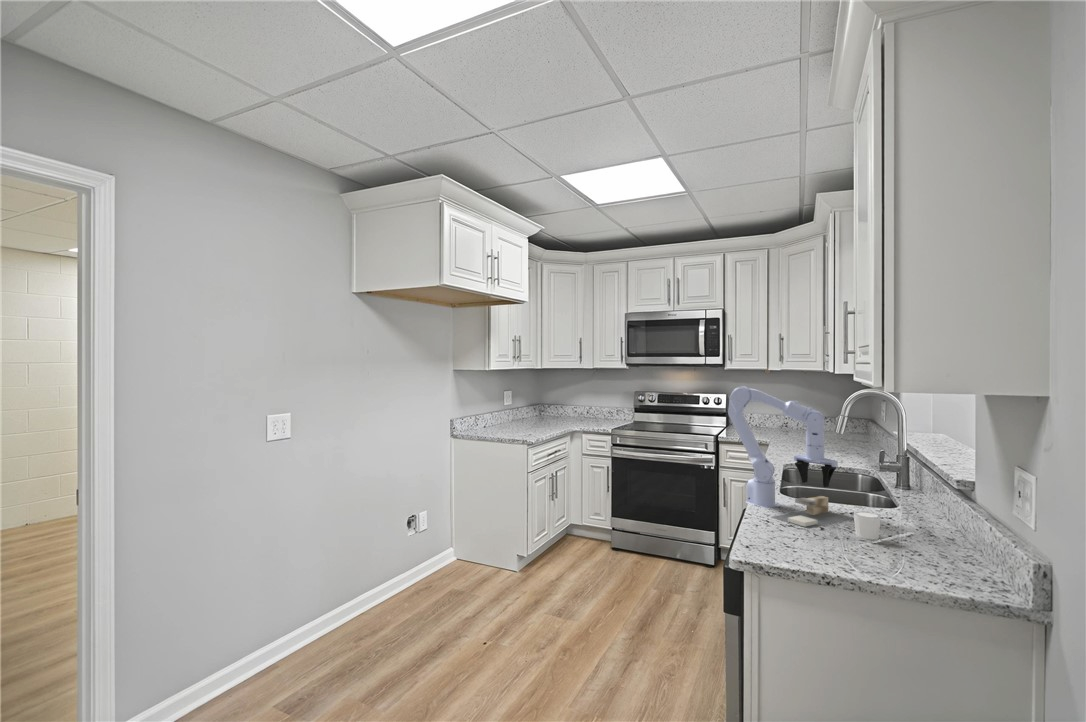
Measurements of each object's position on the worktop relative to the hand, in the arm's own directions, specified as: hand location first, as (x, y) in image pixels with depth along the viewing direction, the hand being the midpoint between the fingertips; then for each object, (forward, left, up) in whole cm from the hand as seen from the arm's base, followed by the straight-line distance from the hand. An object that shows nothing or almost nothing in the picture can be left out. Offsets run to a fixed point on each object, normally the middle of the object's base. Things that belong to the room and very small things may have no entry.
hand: (815, 484), depth 182 cm
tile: (+9, -15, -8) cm, 19 cm away
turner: (+3, -5, -9) cm, 10 cm away
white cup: (+26, -12, -10) cm, 30 cm away
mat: (+6, -9, -9) cm, 15 cm away
